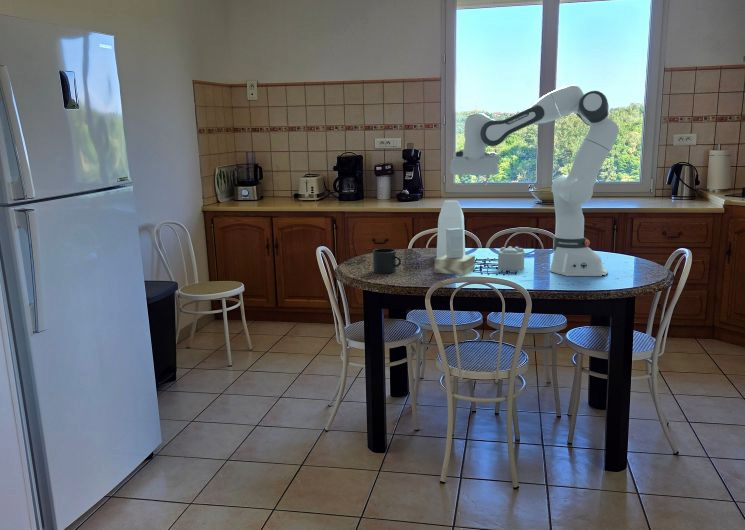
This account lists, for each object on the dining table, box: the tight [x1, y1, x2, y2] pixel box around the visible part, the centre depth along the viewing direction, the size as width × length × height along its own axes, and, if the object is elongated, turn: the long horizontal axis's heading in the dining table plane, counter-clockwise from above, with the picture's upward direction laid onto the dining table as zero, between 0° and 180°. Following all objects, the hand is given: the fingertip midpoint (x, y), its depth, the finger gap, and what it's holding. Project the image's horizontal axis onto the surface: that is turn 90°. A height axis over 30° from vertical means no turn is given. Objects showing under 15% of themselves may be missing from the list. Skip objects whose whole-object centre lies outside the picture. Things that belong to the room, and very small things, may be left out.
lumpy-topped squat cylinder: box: [497, 245, 525, 272], centre depth 276 cm, size 10×13×9 cm
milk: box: [435, 200, 466, 259], centre depth 299 cm, size 12×12×26 cm
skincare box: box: [446, 228, 463, 258], centre depth 271 cm, size 6×4×12 cm
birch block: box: [434, 254, 476, 276], centre depth 272 cm, size 13×13×6 cm
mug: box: [372, 248, 402, 275], centre depth 271 cm, size 9×12×9 cm
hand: (474, 185), depth 279 cm, fingers open, 8 cm apart
